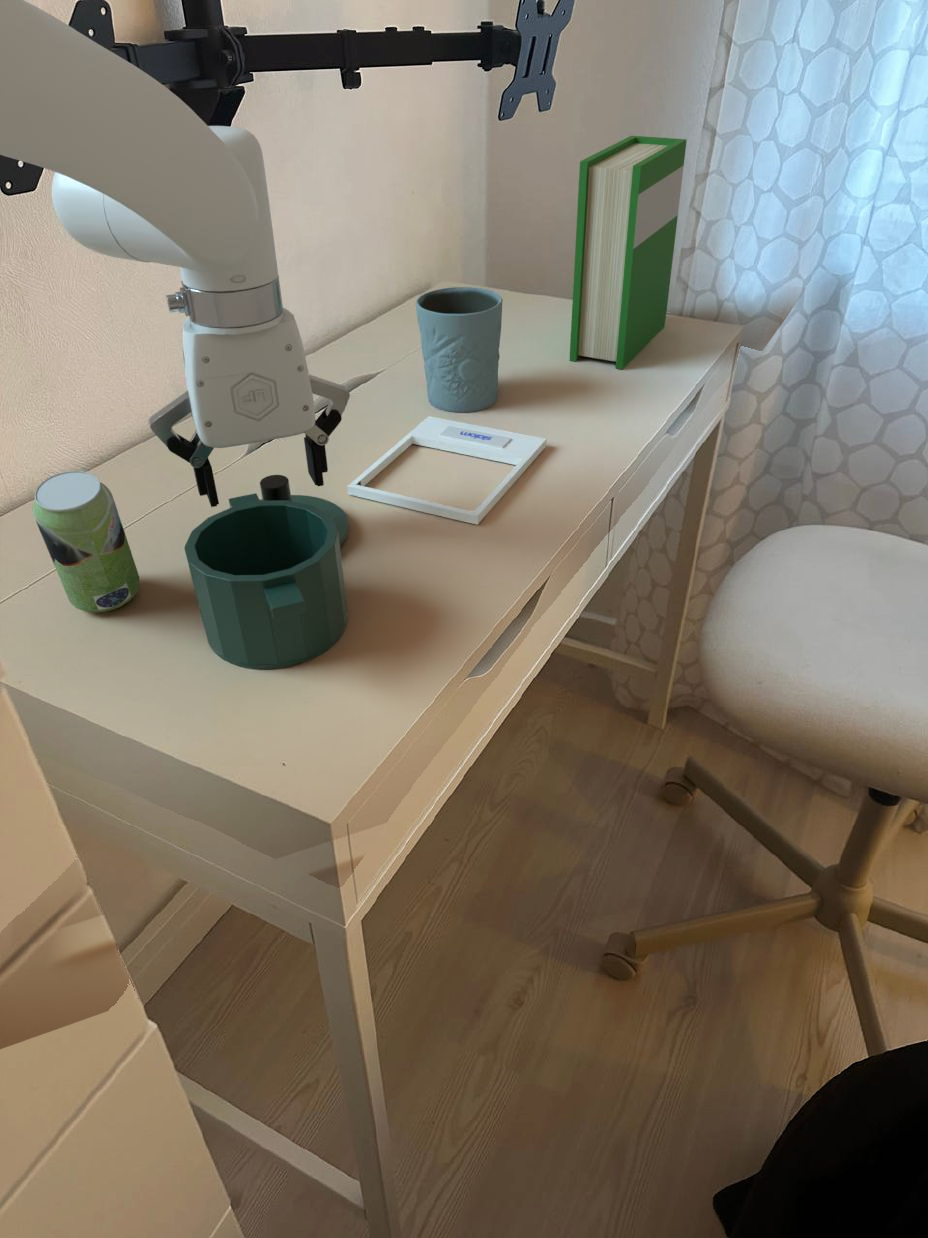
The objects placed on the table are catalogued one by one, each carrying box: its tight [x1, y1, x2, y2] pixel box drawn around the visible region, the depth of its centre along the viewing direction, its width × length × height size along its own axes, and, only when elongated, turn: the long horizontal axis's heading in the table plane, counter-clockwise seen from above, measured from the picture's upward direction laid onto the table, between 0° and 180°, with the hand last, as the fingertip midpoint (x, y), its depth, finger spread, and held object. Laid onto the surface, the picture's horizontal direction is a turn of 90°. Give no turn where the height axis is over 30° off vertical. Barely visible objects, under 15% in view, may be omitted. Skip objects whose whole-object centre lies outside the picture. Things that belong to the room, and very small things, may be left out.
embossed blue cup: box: [414, 286, 504, 413], centre depth 106 cm, size 10×10×12 cm
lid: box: [259, 474, 350, 547], centre depth 83 cm, size 13×13×6 cm
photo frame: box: [346, 415, 547, 526], centre depth 95 cm, size 15×1×18 cm
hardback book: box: [569, 135, 688, 370], centre depth 116 cm, size 18×7×24 cm, turn 152°
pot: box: [183, 492, 349, 670], centre depth 72 cm, size 12×17×8 cm
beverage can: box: [32, 470, 141, 613], centre depth 74 cm, size 6×7×12 cm
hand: (265, 489), depth 82 cm, fingers open, 9 cm apart
